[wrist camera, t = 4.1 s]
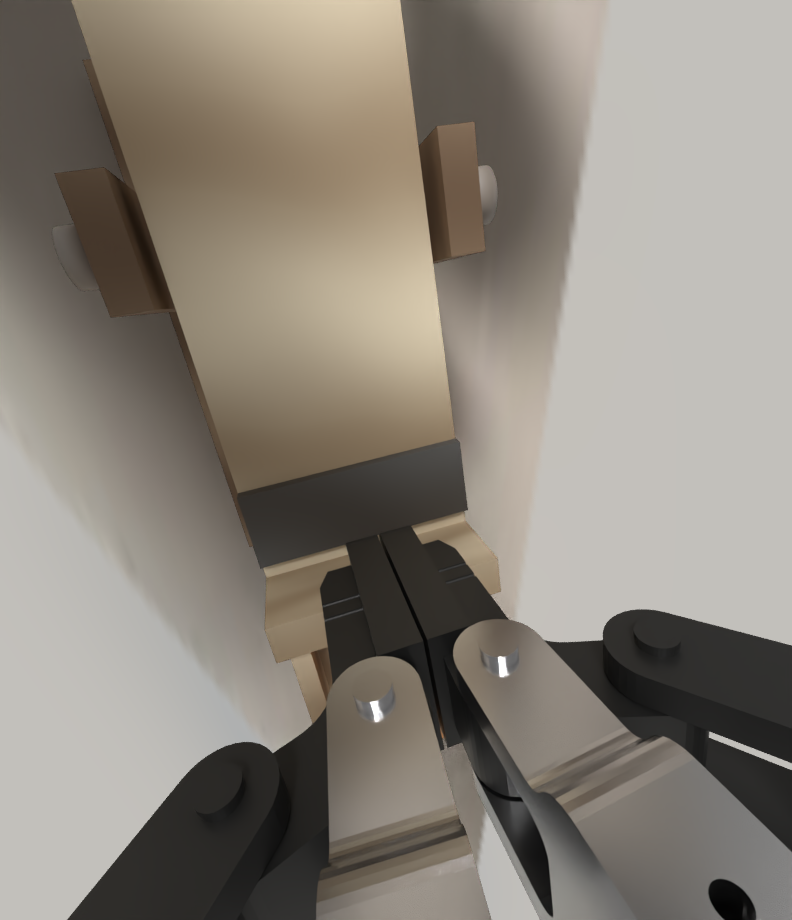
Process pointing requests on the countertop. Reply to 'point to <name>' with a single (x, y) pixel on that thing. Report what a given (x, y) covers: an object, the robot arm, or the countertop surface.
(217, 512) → the countertop surface
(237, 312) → the lever
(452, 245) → the stand
